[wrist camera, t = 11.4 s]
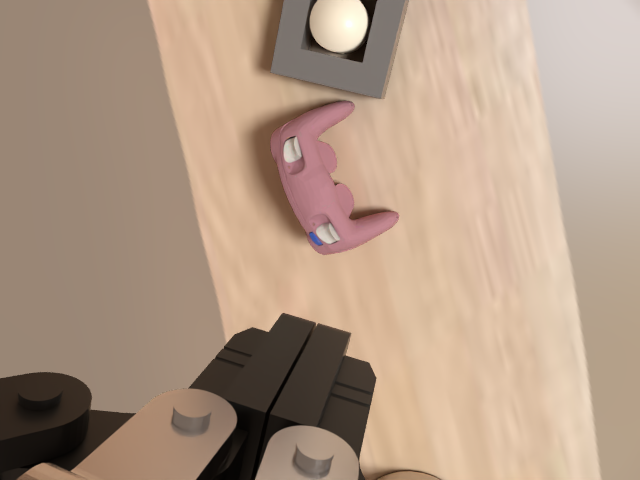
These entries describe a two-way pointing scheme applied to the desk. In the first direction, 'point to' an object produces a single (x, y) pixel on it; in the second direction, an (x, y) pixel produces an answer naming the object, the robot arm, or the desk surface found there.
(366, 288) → the desk surface
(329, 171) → the video game controller
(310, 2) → the button panel
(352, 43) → the cream button
